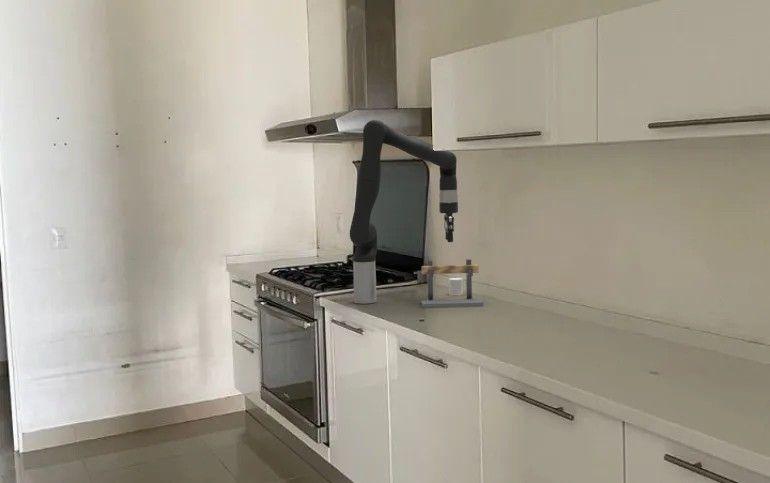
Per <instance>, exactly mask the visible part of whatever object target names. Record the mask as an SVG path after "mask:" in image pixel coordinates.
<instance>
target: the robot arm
mask: <svg viewBox="0 0 770 483" xmlns="http://www.w3.org/2000/svg"><path fill="white" fill-rule="evenodd" d="M362 134H363V135H362V141H363V142H362V155H361V158H360V159H361V160H360V163H359V169H358V175H357V182H356V183H357V184H356V194H355V203H354V210H353V215H352V220H351V222H350V223H351V225H350V228H349V238H350V240H351V242H352V243H353V244H354V245H355V246H356V248H355V252H354V253H353V256H352V266H353V270H352V271H353V303H354V304H362V305H364V304H365V305H366V304H373V303H377V275H376V274H377V273H376V271H377V268H376V257H377V256H376V255H377V254H378V253H377V252H378V233H377V229H376V227H375V225H374V224H373V223H372V222H371V215H372V211H373V209H374V206H375V203H376V201H377V198H378V197H379V192H380V188H381V187H380V186H381V180H382V179H381V177H382V176H381V175H382V170H381V165H382V164H381V155H382V149H383V145H388V146H390V147H391V146H392V147H394V148H396V149H399V150H401V151H403V152H405V153H406V154H408V155H411V156H412V157H415V158H418V159H420V160H423V161H425V162H428V163H431V164H433V165H436V166H438V167H439V194H438V197H439V200H438V202H439V206H438V208H439V209H438V210H439V213H440V214H444V215H443V228H444V230H445V241H447V243H453V242H454V232H455V217H454V216H453V214H457V213H458V212H459V199H458V198H459V195H458V181H457V156H456V154H454V152H452V151H448V150H446V151H434V150H433V146H434V144H431V143H429V142H426V141H424V140H421V139H418V138H416V137H412V136H410V135H406V134H405V133H402V132H399V131H397V130H395V129H394V128H392V127H390V126H388V125H387V124H385V123H384V122H383V121H381V120H379V119H371V120H369V121H367V122H366V123H365V124H364V126H363V132H362Z"/></svg>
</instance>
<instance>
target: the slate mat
mask: <svg viewBox="0 0 770 483" xmlns="http://www.w3.org/2000/svg"><path fill="white" fill-rule="evenodd" d="M469 306H471V307H484V302H483V300H482V299H481V298H473V299H465V298H464V299H463V298H461V299H459V298H458V299H434V300H427V299H426V300H425V299H423V300H421V307H422V308H423V309H424V308H425V309H427V308H428V309H429V308H430V309H431V308H432V309H433V308H461V307H462V308H463V307H464V308H466V307H467V308H470V307H469Z"/></svg>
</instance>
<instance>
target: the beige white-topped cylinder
mask: <svg viewBox="0 0 770 483" xmlns="http://www.w3.org/2000/svg"><path fill="white" fill-rule="evenodd" d="M464 280H465V279H464V278H463V277H449V278H448V279H447V282H448V294H449V296H455V297H456V296H457V297H458V296H463V292H464Z"/></svg>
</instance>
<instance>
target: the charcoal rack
mask: <svg viewBox="0 0 770 483" xmlns="http://www.w3.org/2000/svg"><path fill="white" fill-rule="evenodd" d="M426 263H427V265H426V266H433V260H426ZM465 265H472V258H471V259H469V258H468V259H465ZM473 276H474V273H473V268H468V273H465V279H466V280H465V282H466V283H465V284H466V286H465V288H466V292H465V293H466V297H464V299H474V298H473V295H472V294H473V292H472V291H473V287H472V286H473V284H472V280H473V279H472V277H473ZM433 278H434V274H433V269H428V274H427V298H426V300H435V298H434V285H433V284H434V283H433V282H434V280H433Z"/></svg>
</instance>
